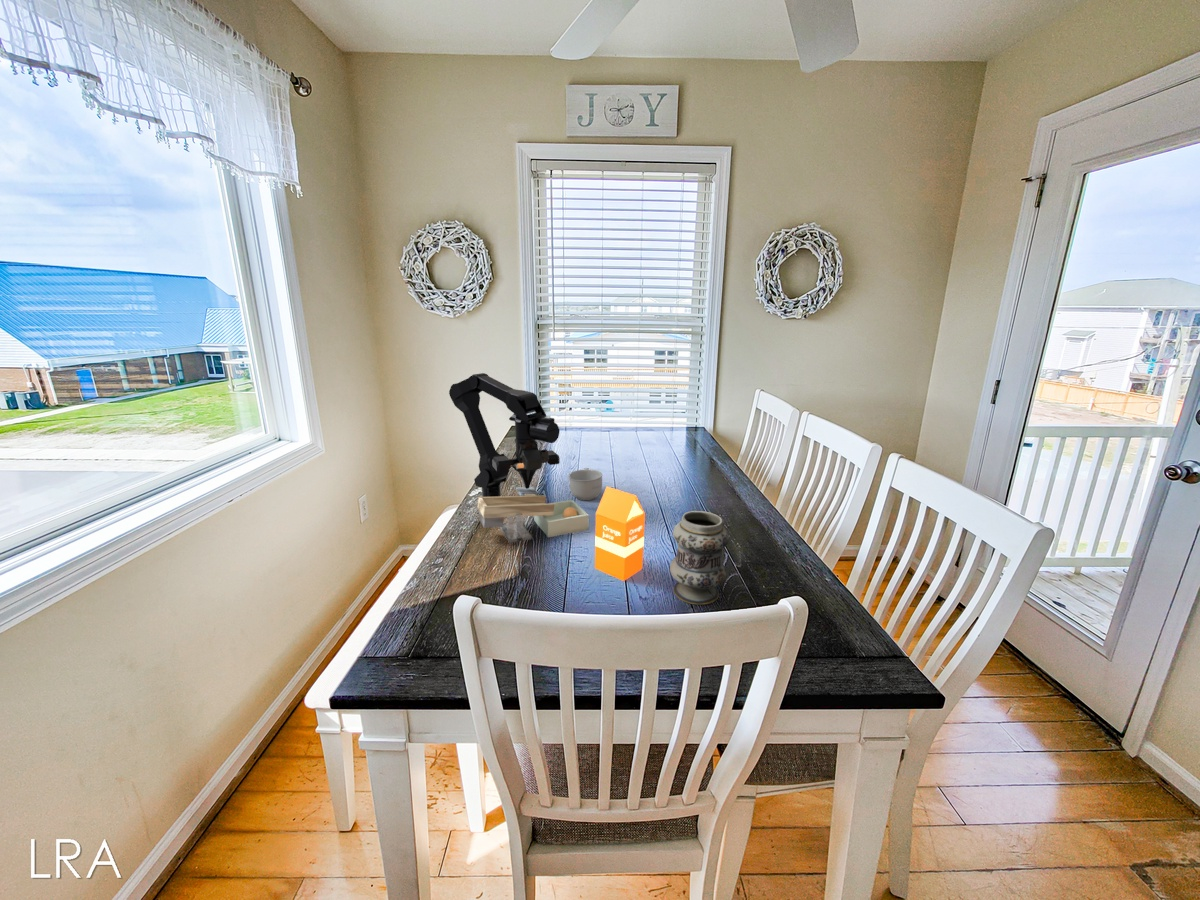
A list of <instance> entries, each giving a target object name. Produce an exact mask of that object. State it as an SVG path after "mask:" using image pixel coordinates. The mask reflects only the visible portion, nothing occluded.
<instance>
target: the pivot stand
mask: <svg viewBox="0 0 1200 900" xmlns="http://www.w3.org/2000/svg"><path fill="white" fill-rule="evenodd" d="M523 519H524V516H523V514H522V513H519V514H516V517H515V521H514V517H506V522H505V523H504V522H503V527H498V528H499V529H500V531H501V533H502V534H503V535H504V537H505V539H506V540H507V543H509V544H512V543H517V542H523V541H528V540H532V535H531V534H530V532H529V531H528V529H527V528H526V527H525V526H524V521H523Z"/></svg>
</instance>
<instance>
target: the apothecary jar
mask: <svg viewBox="0 0 1200 900" xmlns="http://www.w3.org/2000/svg"><path fill="white" fill-rule="evenodd" d="M672 536H673V539H674V540H675V542H676V543H677V550H676V556H675V557H674V558H673V559H672V560H671V562H670V564H669V572H670V574H671V576H672V577H673V579H674V580H675V581H677V583H676V584H675V586H674V587H673V593H674V594H675V596H676V597H677V599H679V600H680V601H681V602H684V603H687V604H691V605H695V606H697V605H698V606H705V605H710V604H712V603H715V602H716V601H717V600H718V598H719V596H720V593H719V590H718V588H717V587H718V586H719V585H721V584H722V583H723V582H724V581H725V579H726V576H727V569H726V567H725V565H724V563H723V561H722V553H723V549H724V548H725V547H726V546H727V545H728V543H729V541H730V535H729V532H728V530H727V529H726V528H725V527H724V525H723V519H722V518H721V517H720V515H717V514H715V513H712V512H709V511H704V510H703V511H702V510H691V511H687V512H684V513H683V515H682V517H681V520H680V522H678V523H677V524H676V525H675V526H674V528H673V532H672Z"/></svg>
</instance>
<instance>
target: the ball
mask: <svg viewBox="0 0 1200 900" xmlns="http://www.w3.org/2000/svg"><path fill="white" fill-rule="evenodd" d="M573 516H577V511H576V510H575V509H574V508H572V507H568V508H566V509H565V510H564V512H563V517H564V518H567V517H573Z"/></svg>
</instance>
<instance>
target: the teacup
mask: <svg viewBox="0 0 1200 900" xmlns="http://www.w3.org/2000/svg"><path fill="white" fill-rule="evenodd" d="M568 479H569V480H568V481H569V489H570V493H571V495H572V496H573V497H575V498H576V499H577V500H580V501H591V500H594V499H596V498H597V497H598V496H599V495H600V494H601V493H602V490H603V472H601V471H599V470H596V469H589V467H585V468H584V469H578V470H574V471H572V472H570V473H569V474H568Z"/></svg>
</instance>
